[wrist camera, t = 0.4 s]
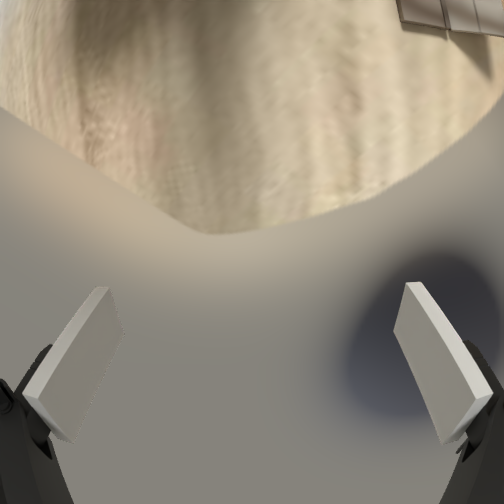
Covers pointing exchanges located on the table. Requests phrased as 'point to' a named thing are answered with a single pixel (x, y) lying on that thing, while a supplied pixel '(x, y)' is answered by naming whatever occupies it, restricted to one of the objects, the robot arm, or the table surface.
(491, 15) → the plank
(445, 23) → the laid board
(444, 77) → the table surface
